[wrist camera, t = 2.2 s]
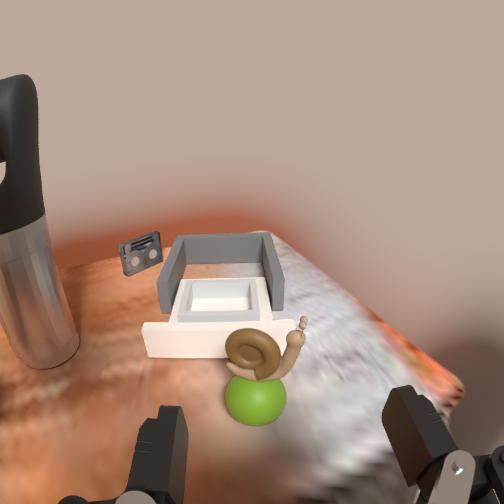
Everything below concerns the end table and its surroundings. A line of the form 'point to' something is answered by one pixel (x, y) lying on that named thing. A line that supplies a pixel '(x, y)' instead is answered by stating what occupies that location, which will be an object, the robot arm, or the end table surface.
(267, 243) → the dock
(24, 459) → the end table surface
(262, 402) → the snail figurine
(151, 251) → the mini dv tape
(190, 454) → the end table surface
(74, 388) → the end table surface
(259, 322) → the tray
